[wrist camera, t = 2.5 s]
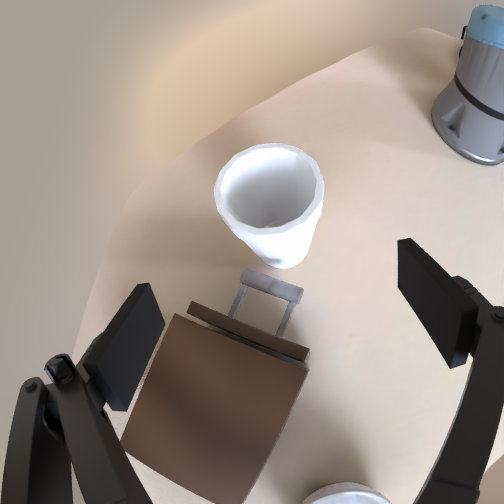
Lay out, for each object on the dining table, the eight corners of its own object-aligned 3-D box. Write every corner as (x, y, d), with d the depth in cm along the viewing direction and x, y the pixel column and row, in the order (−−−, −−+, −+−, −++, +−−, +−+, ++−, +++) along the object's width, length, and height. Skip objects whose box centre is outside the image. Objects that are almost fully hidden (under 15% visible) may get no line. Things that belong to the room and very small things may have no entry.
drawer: (234, 274, 37) (215, 249, 30) (327, 308, 33) (332, 290, 26) (170, 417, 32) (136, 426, 25) (260, 462, 28) (245, 485, 21)
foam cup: (231, 263, 38) (194, 213, 27) (263, 201, 41) (242, 134, 29) (304, 293, 35) (299, 251, 24) (332, 224, 38) (338, 159, 26)
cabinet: (207, 328, 36) (174, 312, 27) (309, 369, 32) (308, 370, 23) (161, 433, 32) (117, 446, 23) (256, 480, 28) (237, 513, 19)
